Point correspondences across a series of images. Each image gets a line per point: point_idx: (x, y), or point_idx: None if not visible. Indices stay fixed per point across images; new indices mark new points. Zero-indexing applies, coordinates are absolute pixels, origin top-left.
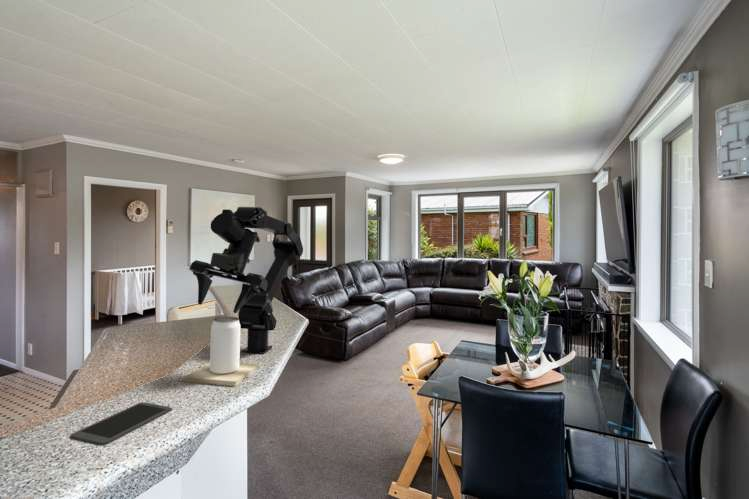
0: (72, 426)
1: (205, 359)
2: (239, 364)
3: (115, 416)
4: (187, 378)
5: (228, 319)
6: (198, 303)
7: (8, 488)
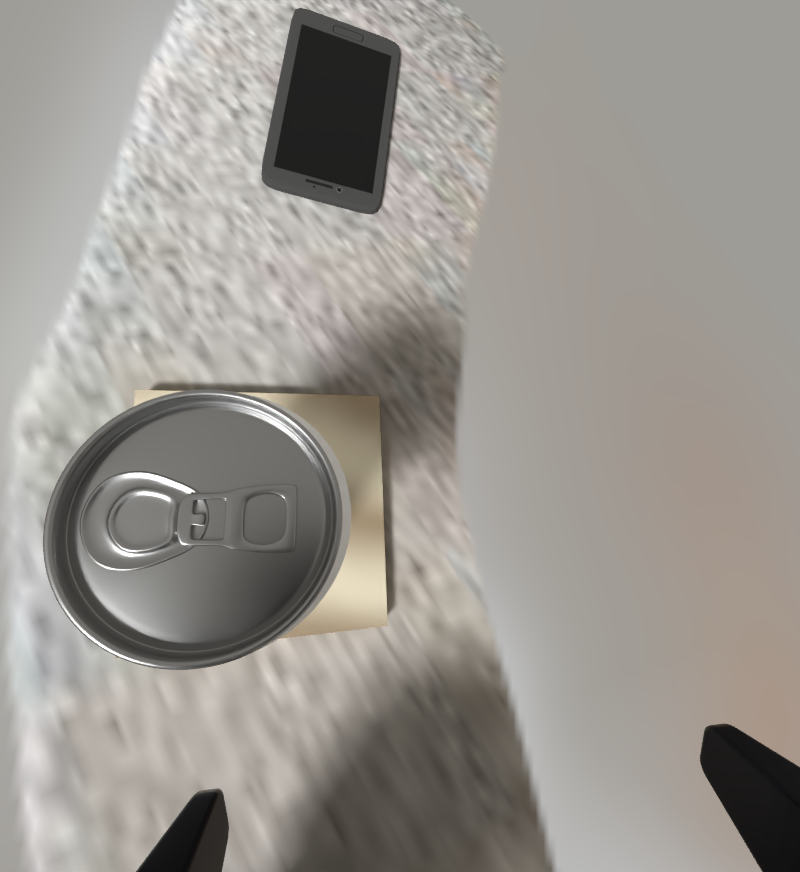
0: (435, 93)
1: (459, 681)
2: None
3: (375, 121)
4: (363, 397)
5: (207, 574)
6: (720, 724)
7: None
